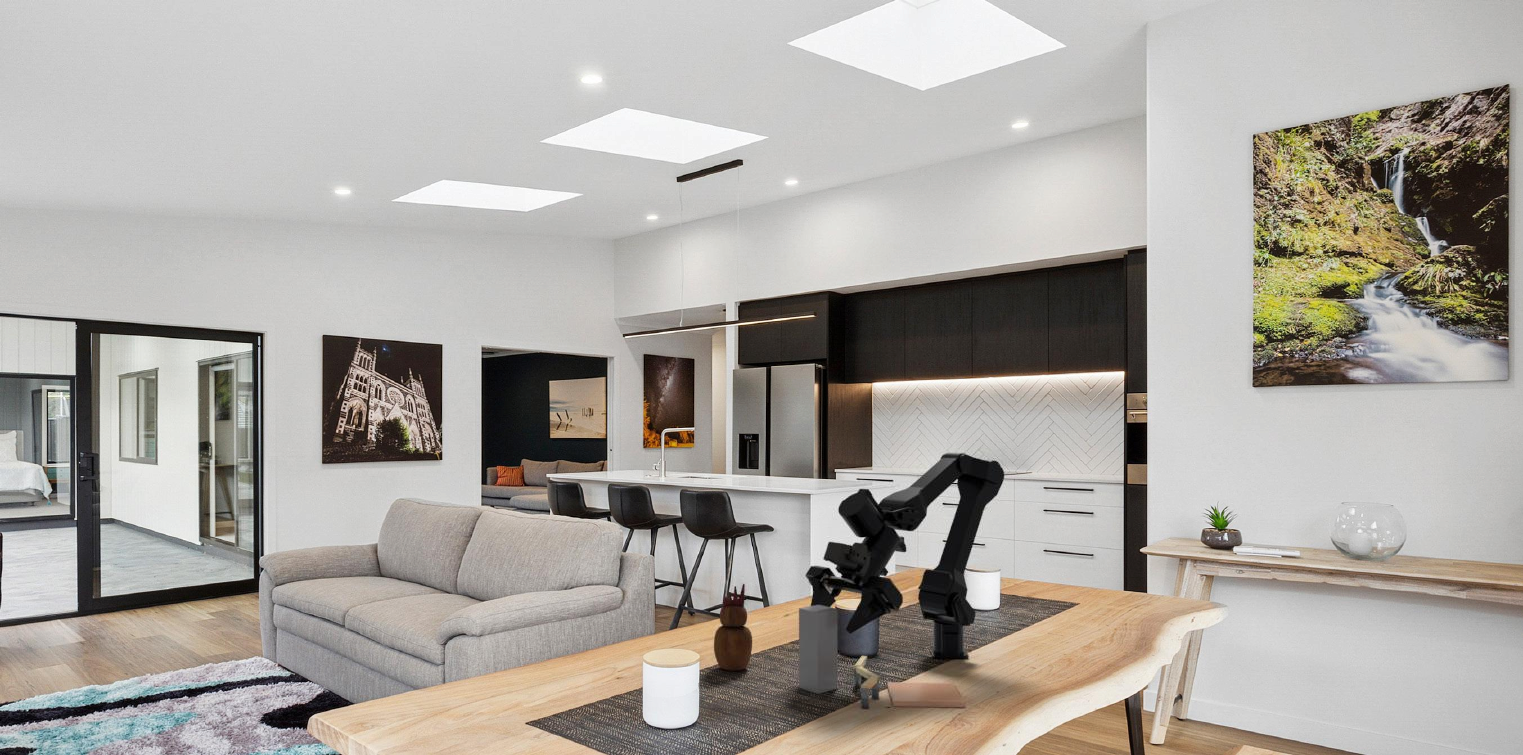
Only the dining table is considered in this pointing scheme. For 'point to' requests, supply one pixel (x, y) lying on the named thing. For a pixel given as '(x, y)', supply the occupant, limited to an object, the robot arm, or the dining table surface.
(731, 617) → the wooden figurine
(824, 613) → the gray pillar
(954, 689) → the terracotta tile
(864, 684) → the bent wire
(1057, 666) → the dining table surface
